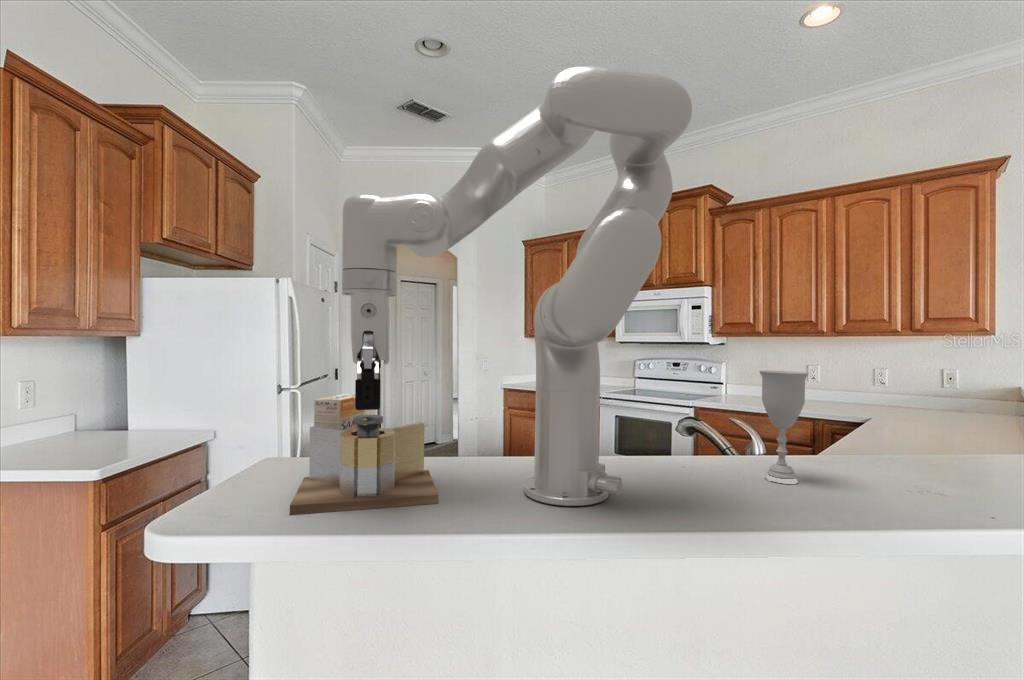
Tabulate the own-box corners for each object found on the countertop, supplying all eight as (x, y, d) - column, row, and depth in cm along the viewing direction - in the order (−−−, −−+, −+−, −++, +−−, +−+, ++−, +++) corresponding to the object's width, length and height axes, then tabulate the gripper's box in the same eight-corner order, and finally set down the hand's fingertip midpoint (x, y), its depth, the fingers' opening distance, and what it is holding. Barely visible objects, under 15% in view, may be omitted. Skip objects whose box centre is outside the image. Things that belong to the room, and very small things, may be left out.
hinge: (430, 492, 70) (431, 435, 70) (299, 501, 65) (299, 441, 65) (423, 471, 80) (423, 422, 80) (310, 478, 76) (310, 425, 76)
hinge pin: (388, 489, 71) (388, 416, 71) (364, 496, 67) (365, 420, 67) (370, 484, 73) (371, 413, 73) (347, 490, 70) (347, 417, 70)
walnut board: (437, 503, 69) (438, 494, 69) (289, 514, 64) (289, 505, 64) (428, 477, 81) (428, 469, 81) (304, 484, 76) (304, 477, 76)
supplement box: (339, 483, 78) (340, 399, 77) (312, 480, 78) (312, 398, 78) (365, 469, 86) (366, 393, 86) (340, 467, 87) (340, 392, 86)
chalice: (807, 479, 83) (809, 371, 83) (806, 489, 77) (808, 374, 77) (759, 472, 87) (761, 369, 87) (754, 481, 81) (756, 372, 81)
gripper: (399, 279, 63) (397, 413, 63) (394, 291, 80) (393, 396, 80) (337, 277, 61) (335, 414, 62) (345, 289, 78) (344, 397, 78)
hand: (368, 404), depth 71 cm, fingers open, 9 cm apart
